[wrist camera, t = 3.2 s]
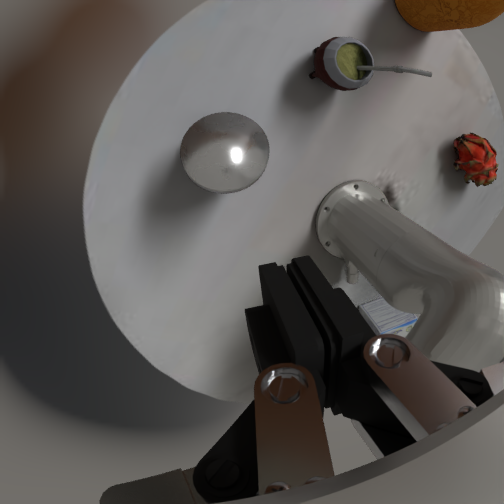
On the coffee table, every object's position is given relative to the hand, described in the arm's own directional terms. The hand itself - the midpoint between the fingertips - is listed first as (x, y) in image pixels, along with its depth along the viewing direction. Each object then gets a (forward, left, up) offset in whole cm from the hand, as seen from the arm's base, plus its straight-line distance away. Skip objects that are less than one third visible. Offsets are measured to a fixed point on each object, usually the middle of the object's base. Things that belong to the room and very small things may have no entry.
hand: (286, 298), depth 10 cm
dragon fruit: (-4, -43, -33) cm, 54 cm away
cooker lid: (+2, 0, -22) cm, 22 cm away
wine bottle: (+22, -34, -33) cm, 52 cm away
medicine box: (-32, -25, -33) cm, 52 cm away
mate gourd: (+10, -17, -33) cm, 38 cm away
